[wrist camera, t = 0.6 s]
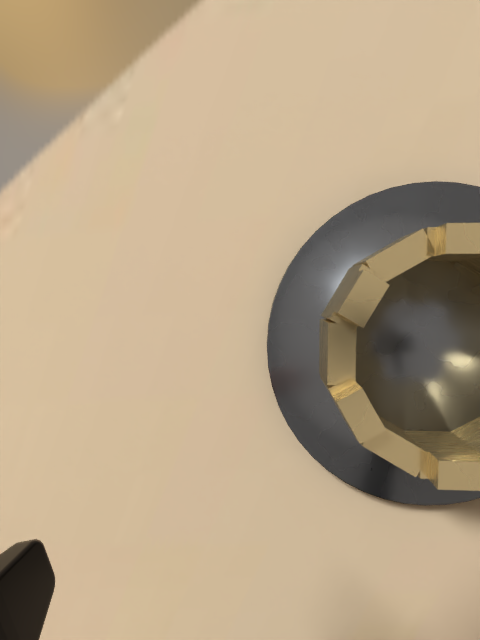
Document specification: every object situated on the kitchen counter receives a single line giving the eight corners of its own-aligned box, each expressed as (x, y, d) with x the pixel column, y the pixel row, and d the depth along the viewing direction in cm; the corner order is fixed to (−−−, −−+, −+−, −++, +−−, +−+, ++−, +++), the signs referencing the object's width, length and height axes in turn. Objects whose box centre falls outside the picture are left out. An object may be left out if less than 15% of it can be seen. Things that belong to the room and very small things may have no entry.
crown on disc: (576, 500, 22) (665, 559, 17) (265, 491, 22) (266, 544, 18) (593, 184, 21) (693, 151, 16) (267, 188, 21) (269, 158, 17)
